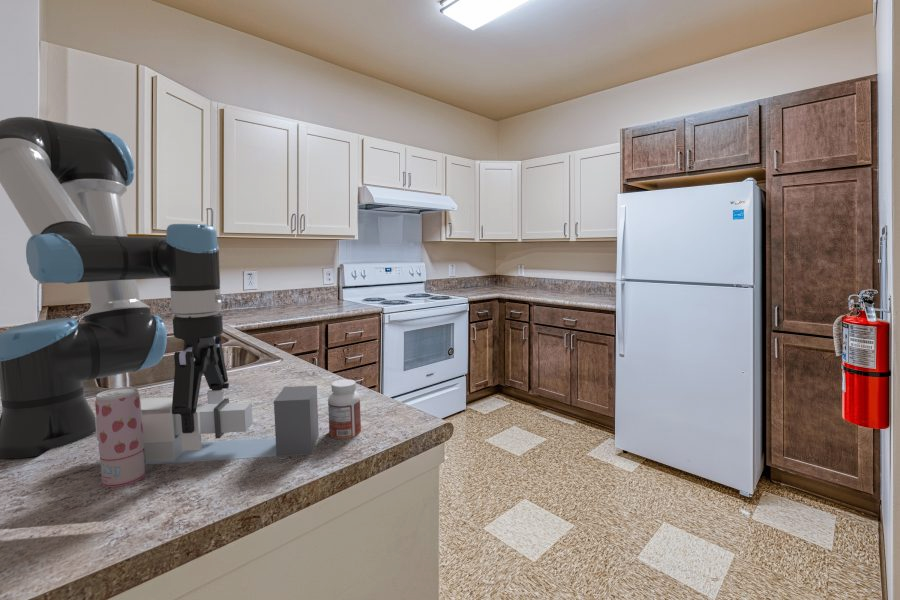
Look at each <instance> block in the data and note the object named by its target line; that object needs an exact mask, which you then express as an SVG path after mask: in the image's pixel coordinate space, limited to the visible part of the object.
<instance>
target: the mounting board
mask: <svg viewBox="0 0 900 600" xmlns="http://www.w3.org/2000/svg"><path fill="white" fill-rule="evenodd" d="M318 437H319V435H318ZM201 443H202V448H201V449H200V450H188V451H184V452H183V453H182V454H181V455H180V456H179V457H178V458H177V459H176V460H174V461H163V462H147V463H146V466H147V465H149V466H150V465H161V464H163V465H164V464H176V463H177V464H179V463H180V464H181V463H194V462H207V461H208V462H209V461H210V462H211V461H223V460H224V461H225V460H227V461H228V460H242V459H256V458H257V459H259V458H270V457H272V458H274V457H277V456H276V437H266V438H249V439H247V438H245V439H230V440H213V441H212V440H211V441H201ZM315 447H316V445H315V446H314V448H315ZM304 455H307V454H302V455H301V456H304ZM288 456H291V455H286V456H285V457H288Z"/></svg>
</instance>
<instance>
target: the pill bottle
mask: <svg viewBox="0 0 900 600" xmlns="http://www.w3.org/2000/svg"><path fill="white" fill-rule="evenodd" d="M356 383H357V382H356V380H354V379H339V380H335V381H333V382H331V392H332V393H331V394H330V395H329V396H328V397H327V403H328V404H327V405H328V408H327V409H328V428H329V430H328V431H329V432H328V434H329V436H330V437H331V438H336V439H350V438H353V437H356V436H358V435H359V434H360V433H361V432H362V423H361V422H362V421H361V419H362V418H361V417H362V416H361V397H360V394H359V393H358V392H357V391H356V388H357V384H356Z"/></svg>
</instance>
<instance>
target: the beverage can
mask: <svg viewBox="0 0 900 600" xmlns="http://www.w3.org/2000/svg"><path fill="white" fill-rule="evenodd" d="M140 398H141V395H140V393H139V389H138V388H136V387H135V386H134V387H131V386H125V387H124V386H123V387H115V388H110V389H108V390H103V391H101V392H99V393H97V394H96V396H95V402H94V406H95V417H96V419H97V430H98V440H97V441H98V451H99V460H100V461H99V462H100V463H99V464H100V472H101V473H100V474H101V482H102V483H101V484H102V485H103V486H104V487H108V488H115V487H122V486H126V485H129V484H132V483H135V482H138V481H139V480H141V479H143V478H144V477H145V476H146V475H147V465H146V459H145V448H144V437H143V425H142V414H141V402H140Z"/></svg>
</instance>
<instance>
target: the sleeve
mask: <svg viewBox="0 0 900 600" xmlns="http://www.w3.org/2000/svg"><path fill="white" fill-rule="evenodd" d="M172 400H173V396H156V397H140V402H141V414H142V425H143V437H144V448H145V459H146V463H147V462H163V461H174V460H176V459H177V458H178V457H179V456H180V455H181V454H182V453H183V452H184V451H183V450H182V436H181V435H175V433H174V420H173V414H172Z"/></svg>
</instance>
